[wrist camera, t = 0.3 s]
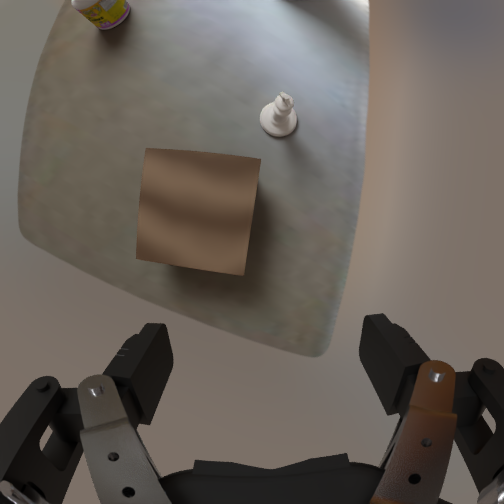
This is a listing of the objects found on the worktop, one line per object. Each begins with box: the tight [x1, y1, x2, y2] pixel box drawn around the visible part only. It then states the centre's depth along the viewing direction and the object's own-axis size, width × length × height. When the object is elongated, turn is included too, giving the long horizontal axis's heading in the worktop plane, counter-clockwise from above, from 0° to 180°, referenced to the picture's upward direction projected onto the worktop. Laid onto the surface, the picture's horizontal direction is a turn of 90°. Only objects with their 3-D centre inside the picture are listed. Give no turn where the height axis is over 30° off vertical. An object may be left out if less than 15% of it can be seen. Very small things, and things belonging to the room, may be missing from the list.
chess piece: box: [260, 92, 297, 137], centre depth 28 cm, size 5×5×10 cm
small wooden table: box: [136, 148, 261, 276], centre depth 33 cm, size 13×13×7 cm
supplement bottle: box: [72, 0, 130, 30], centre depth 22 cm, size 7×7×13 cm
